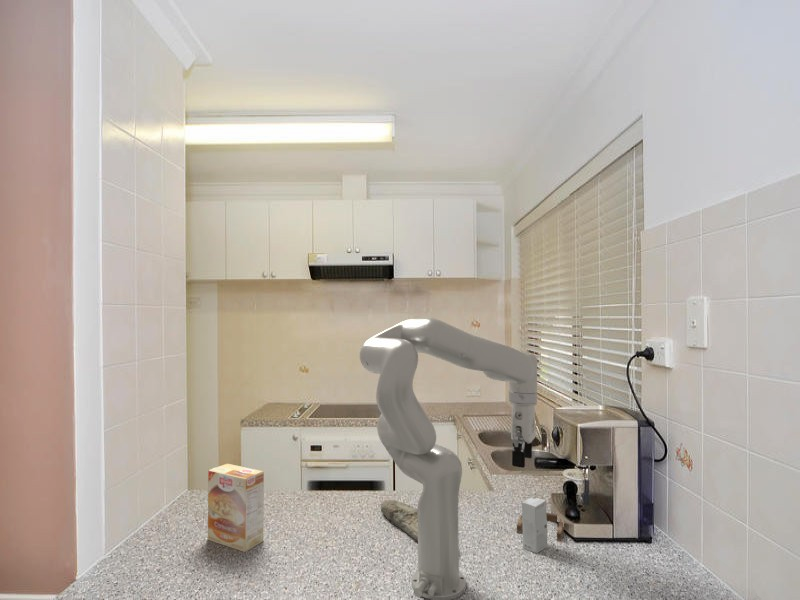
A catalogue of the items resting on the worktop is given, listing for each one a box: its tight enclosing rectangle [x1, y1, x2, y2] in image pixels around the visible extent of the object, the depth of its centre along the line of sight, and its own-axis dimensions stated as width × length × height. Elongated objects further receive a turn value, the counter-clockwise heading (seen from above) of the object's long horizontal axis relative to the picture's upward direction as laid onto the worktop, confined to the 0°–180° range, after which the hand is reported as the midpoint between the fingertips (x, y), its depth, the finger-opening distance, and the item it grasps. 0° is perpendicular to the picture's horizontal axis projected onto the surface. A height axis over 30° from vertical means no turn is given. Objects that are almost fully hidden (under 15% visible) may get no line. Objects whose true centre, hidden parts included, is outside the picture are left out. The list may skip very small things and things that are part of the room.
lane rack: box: [516, 512, 565, 542], centre depth 130 cm, size 12×12×2 cm
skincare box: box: [521, 496, 549, 554], centre depth 120 cm, size 6×4×12 cm
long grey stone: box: [380, 499, 418, 542], centre depth 130 cm, size 35×5×10 cm
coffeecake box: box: [207, 463, 265, 553], centre depth 124 cm, size 15×7×20 cm, turn 62°
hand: (522, 461), depth 120 cm, fingers open, 9 cm apart
